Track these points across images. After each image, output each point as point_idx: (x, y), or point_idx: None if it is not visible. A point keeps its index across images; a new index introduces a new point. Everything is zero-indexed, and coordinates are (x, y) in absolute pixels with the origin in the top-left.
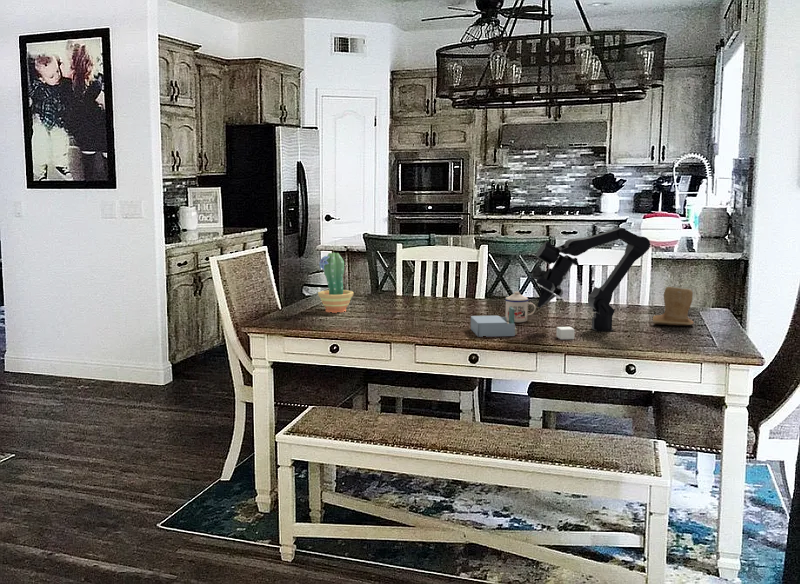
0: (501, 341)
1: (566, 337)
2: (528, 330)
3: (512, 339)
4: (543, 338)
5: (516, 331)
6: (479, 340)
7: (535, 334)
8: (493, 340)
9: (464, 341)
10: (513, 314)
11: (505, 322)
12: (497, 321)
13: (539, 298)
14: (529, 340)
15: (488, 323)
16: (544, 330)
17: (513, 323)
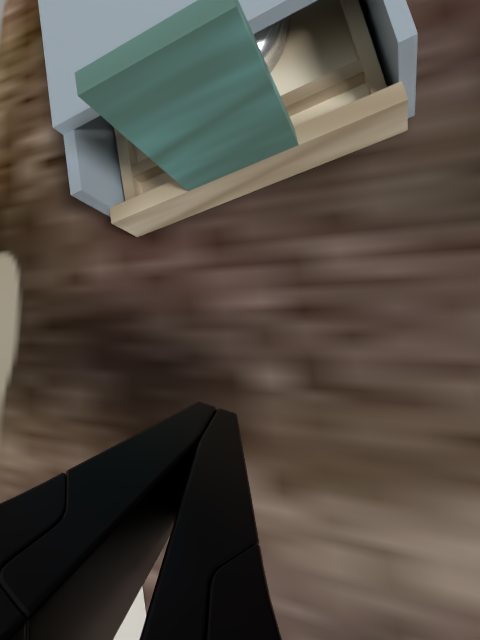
0: (7, 176)
1: None
2: (346, 318)
3: (48, 227)
4: (77, 422)
5: (125, 228)
6: (25, 63)
7: (192, 373)
8: (26, 131)
9: (7, 4)
10: (118, 124)
11: (54, 116)
12: (86, 46)
13: (80, 464)
14: (28, 328)
15: (42, 7)
16: (369, 469)
17: (173, 173)
